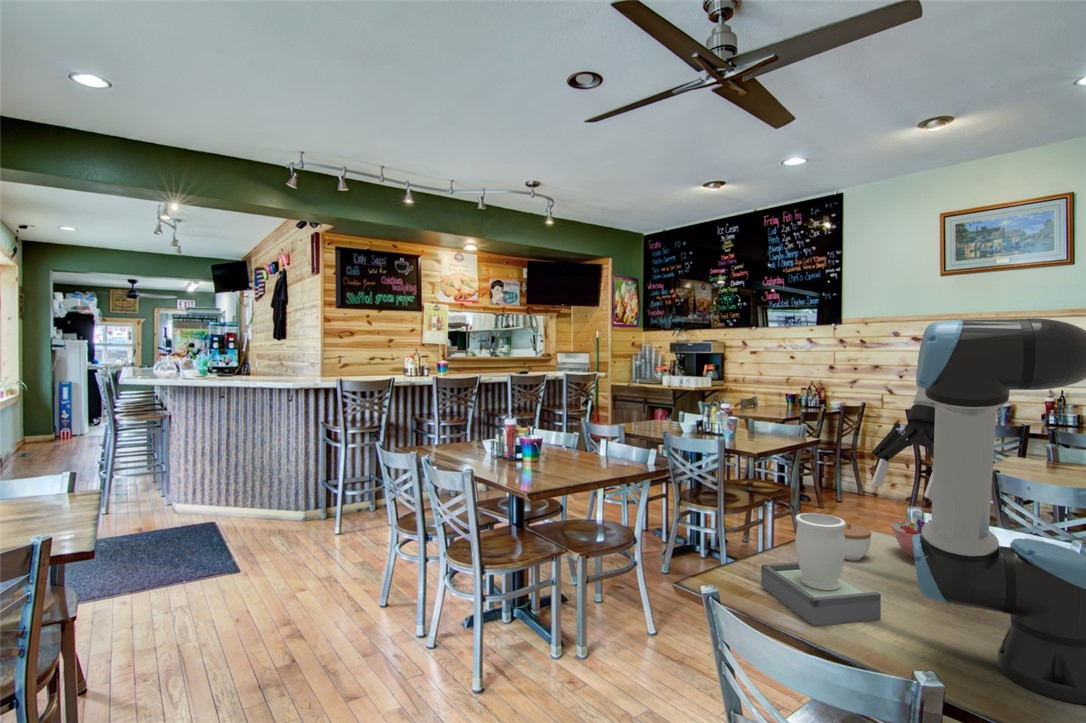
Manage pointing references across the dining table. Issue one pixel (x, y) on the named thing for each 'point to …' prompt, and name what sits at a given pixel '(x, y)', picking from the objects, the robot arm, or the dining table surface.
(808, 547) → the jar
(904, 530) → the cell model
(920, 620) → the dining table surface
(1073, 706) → the dining table surface
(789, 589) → the tray
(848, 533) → the lidded jar
